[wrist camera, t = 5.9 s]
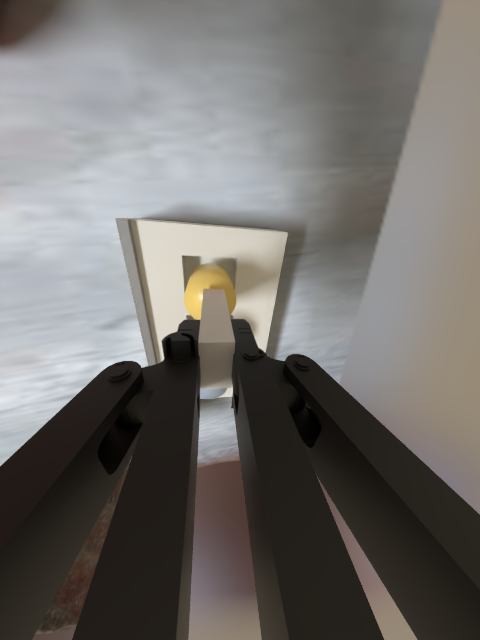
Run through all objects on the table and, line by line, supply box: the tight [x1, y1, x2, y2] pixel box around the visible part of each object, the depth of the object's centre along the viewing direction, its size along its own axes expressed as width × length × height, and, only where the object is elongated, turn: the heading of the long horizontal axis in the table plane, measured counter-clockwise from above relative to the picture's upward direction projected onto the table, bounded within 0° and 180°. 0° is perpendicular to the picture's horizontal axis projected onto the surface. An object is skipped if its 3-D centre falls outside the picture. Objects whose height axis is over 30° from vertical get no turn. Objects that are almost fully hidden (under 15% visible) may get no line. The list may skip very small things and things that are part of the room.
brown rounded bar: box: [35, 459, 131, 634], centre depth 23 cm, size 8×7×20 cm
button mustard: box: [184, 263, 236, 320], centre depth 16 cm, size 4×4×4 cm
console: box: [115, 218, 288, 399], centre depth 22 cm, size 22×14×6 cm, turn 176°
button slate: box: [200, 388, 227, 399], centre depth 23 cm, size 4×4×4 cm
